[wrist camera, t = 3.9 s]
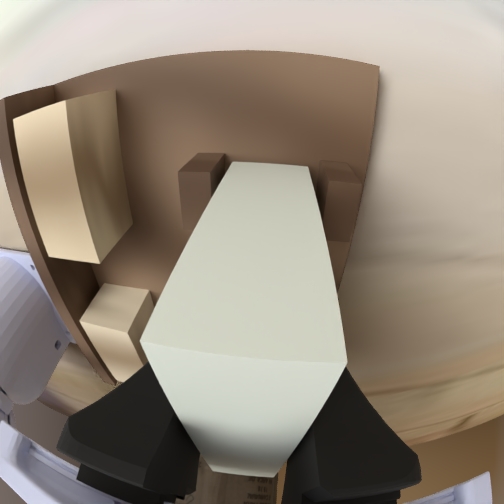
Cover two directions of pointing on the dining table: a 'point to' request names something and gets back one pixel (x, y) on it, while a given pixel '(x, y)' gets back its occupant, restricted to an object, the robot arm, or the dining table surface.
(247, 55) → the rack
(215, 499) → the beer stein
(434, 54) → the dining table surface
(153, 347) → the panel
